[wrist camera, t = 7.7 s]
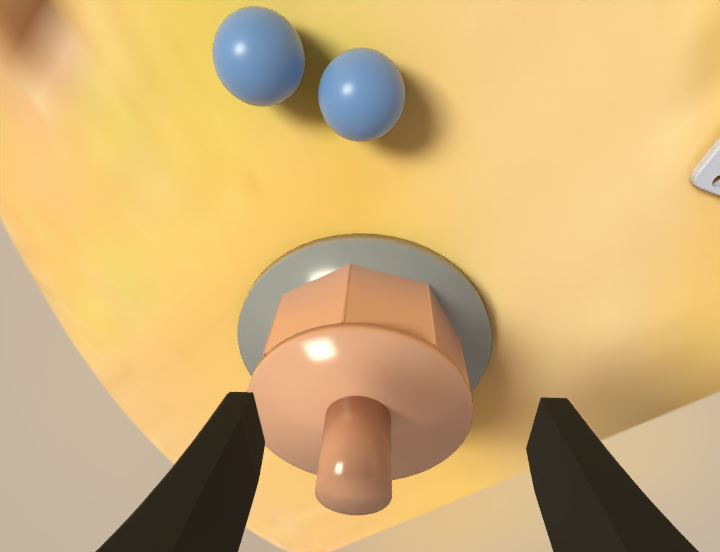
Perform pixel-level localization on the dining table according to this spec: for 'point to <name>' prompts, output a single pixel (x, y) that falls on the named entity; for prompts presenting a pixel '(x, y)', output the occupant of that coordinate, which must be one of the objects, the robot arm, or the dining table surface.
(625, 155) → the dining table surface
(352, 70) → the blue marble
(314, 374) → the lid with knob
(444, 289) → the slate plate
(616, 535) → the robot arm
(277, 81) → the blue marble
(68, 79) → the dining table surface
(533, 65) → the dining table surface
